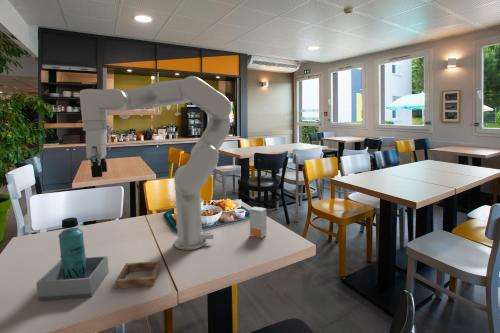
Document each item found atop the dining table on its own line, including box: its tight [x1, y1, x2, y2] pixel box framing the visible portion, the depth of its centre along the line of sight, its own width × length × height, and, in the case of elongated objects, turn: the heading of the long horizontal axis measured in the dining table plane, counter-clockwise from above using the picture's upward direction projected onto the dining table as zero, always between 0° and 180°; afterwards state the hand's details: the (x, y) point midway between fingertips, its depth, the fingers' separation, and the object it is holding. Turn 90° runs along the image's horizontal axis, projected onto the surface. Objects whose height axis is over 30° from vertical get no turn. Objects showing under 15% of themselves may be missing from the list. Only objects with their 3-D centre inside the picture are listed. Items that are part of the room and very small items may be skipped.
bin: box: [36, 255, 110, 302], centre depth 91 cm, size 14×14×6 cm
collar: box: [114, 260, 161, 290], centre depth 95 cm, size 11×11×2 cm
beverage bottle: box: [58, 216, 87, 280], centre depth 89 cm, size 6×7×20 cm
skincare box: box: [249, 206, 267, 239], centre depth 126 cm, size 6×4×12 cm
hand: (100, 174), depth 107 cm, fingers open, 9 cm apart
